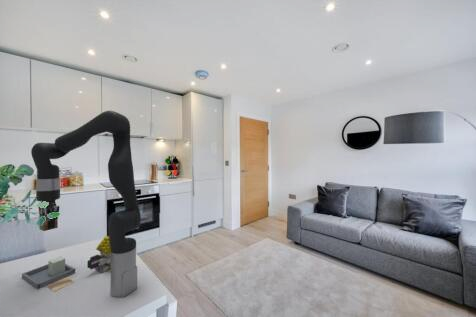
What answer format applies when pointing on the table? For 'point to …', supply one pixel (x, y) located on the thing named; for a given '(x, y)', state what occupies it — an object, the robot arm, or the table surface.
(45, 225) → the walnut block
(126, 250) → the robot arm
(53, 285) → the cork pad
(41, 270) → the tray
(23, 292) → the table surface
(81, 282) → the table surface
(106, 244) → the toy
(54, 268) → the sage block
